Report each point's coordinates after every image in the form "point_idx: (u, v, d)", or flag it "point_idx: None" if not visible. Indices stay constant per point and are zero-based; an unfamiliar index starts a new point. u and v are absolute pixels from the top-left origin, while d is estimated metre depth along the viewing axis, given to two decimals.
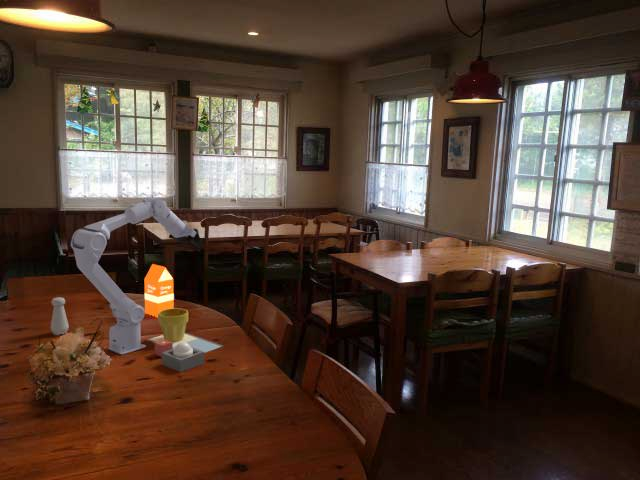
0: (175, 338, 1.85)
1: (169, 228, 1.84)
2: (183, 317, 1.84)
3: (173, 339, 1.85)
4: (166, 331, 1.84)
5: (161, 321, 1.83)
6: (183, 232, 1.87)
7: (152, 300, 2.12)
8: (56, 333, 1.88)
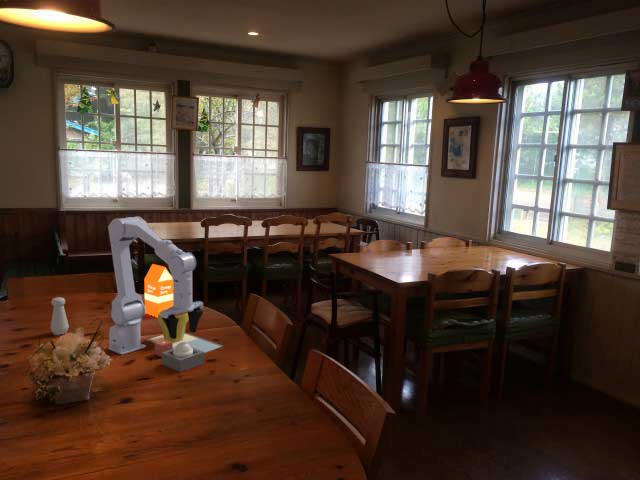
0: None
1: None
2: (183, 317, 1.84)
3: (173, 339, 1.85)
4: (166, 331, 1.84)
5: (161, 321, 1.83)
6: (173, 308, 1.62)
7: (152, 300, 2.12)
8: (56, 333, 1.88)
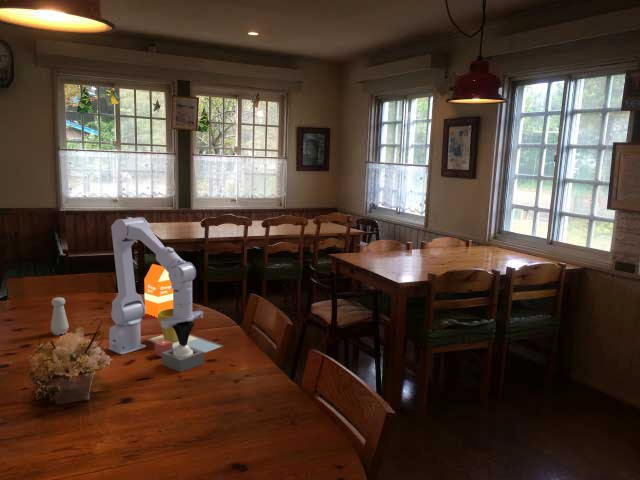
0: (175, 338, 1.85)
1: None
2: None
3: (173, 339, 1.85)
4: (166, 331, 1.84)
5: None
6: (173, 318, 1.63)
7: (152, 300, 2.12)
8: (56, 333, 1.88)
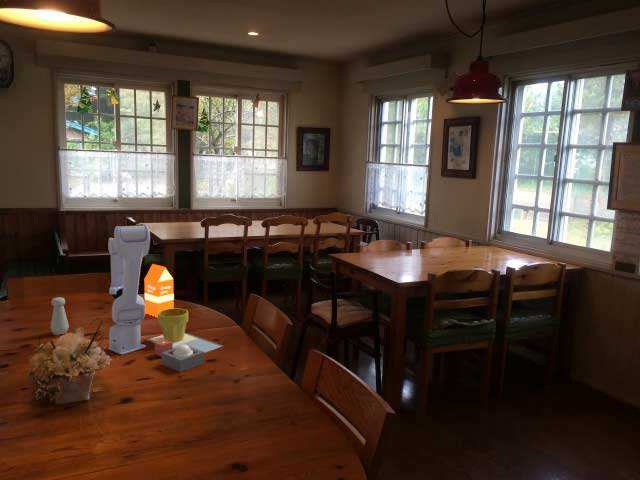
0: (175, 338, 1.85)
1: (111, 272, 1.87)
2: (183, 317, 1.84)
3: (173, 339, 1.85)
4: (166, 331, 1.84)
5: (161, 321, 1.83)
6: (114, 286, 1.86)
7: (152, 300, 2.12)
8: (56, 333, 1.88)
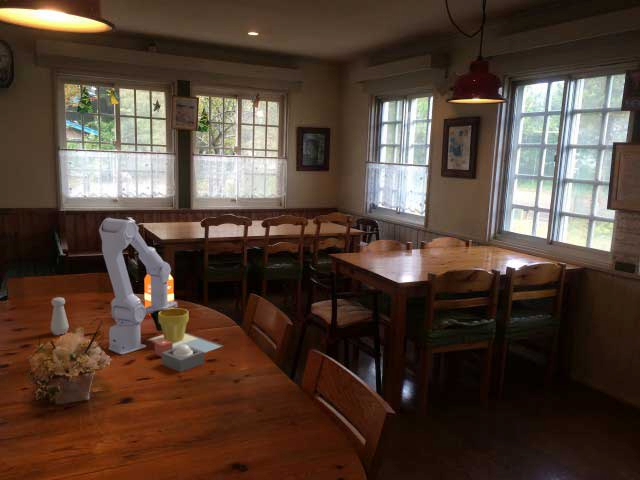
0: (175, 338, 1.85)
1: None
2: (183, 317, 1.84)
3: (173, 339, 1.85)
4: (166, 331, 1.84)
5: (161, 321, 1.83)
6: (151, 307, 1.89)
7: None
8: (56, 333, 1.88)
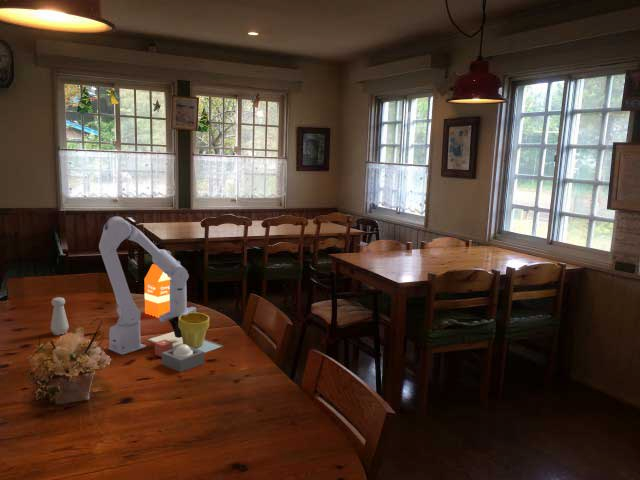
0: (196, 344, 1.80)
1: None
2: (205, 324, 1.79)
3: (193, 345, 1.80)
4: (187, 337, 1.78)
5: (182, 327, 1.77)
6: (169, 313, 1.83)
7: (152, 300, 2.12)
8: (56, 333, 1.88)
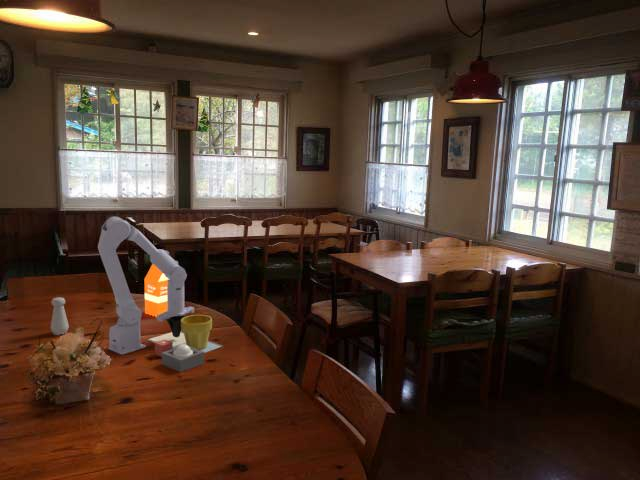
0: (200, 346, 1.79)
1: None
2: (208, 324, 1.78)
3: (197, 347, 1.79)
4: (190, 339, 1.77)
5: (185, 329, 1.76)
6: (167, 313, 1.84)
7: (152, 300, 2.12)
8: (56, 333, 1.88)
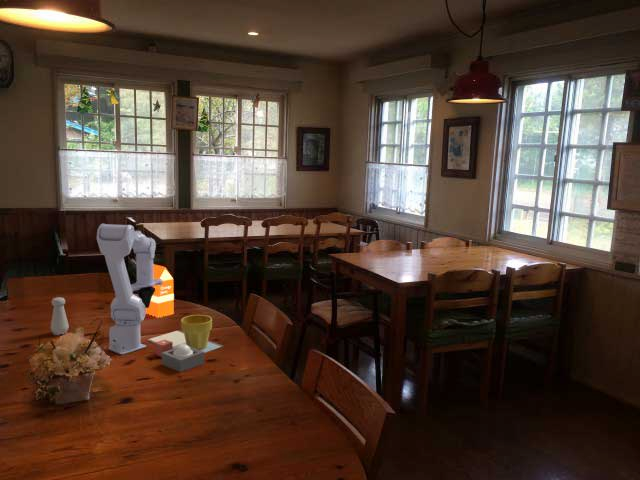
0: (200, 346, 1.79)
1: None
2: (208, 324, 1.78)
3: (197, 347, 1.79)
4: (190, 339, 1.77)
5: (185, 329, 1.76)
6: (137, 284, 1.89)
7: (152, 300, 2.12)
8: (56, 333, 1.88)
